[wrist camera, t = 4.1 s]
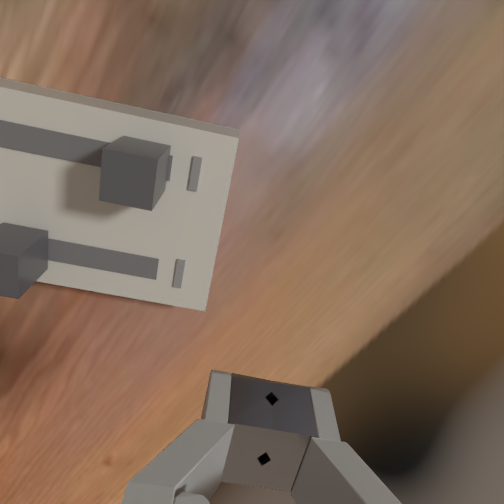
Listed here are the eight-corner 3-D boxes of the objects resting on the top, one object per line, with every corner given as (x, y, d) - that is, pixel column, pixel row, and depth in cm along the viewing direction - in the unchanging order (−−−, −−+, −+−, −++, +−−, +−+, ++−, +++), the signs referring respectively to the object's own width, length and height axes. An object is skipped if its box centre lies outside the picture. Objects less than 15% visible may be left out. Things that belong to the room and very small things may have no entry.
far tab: (47, 268, 33) (18, 298, 29) (4, 261, 32) (-31, 290, 28) (48, 230, 31) (18, 256, 27) (3, 222, 31) (-34, 247, 27)
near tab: (165, 190, 30) (151, 211, 26) (119, 181, 30) (98, 200, 26) (171, 145, 29) (157, 159, 25) (123, 135, 29) (102, 148, 24)
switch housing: (209, 287, 38) (204, 313, 34) (-23, 244, 36) (-56, 267, 32) (240, 129, 33) (238, 138, 29) (-32, 70, 31) (-74, 71, 27)
